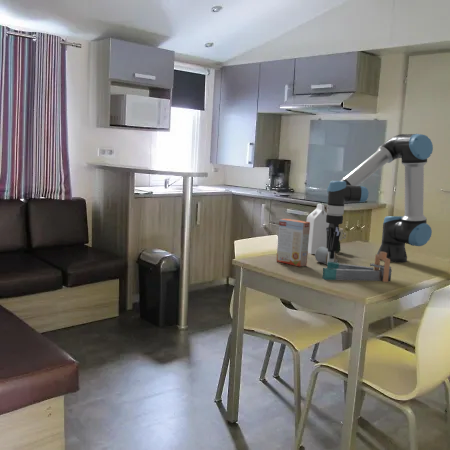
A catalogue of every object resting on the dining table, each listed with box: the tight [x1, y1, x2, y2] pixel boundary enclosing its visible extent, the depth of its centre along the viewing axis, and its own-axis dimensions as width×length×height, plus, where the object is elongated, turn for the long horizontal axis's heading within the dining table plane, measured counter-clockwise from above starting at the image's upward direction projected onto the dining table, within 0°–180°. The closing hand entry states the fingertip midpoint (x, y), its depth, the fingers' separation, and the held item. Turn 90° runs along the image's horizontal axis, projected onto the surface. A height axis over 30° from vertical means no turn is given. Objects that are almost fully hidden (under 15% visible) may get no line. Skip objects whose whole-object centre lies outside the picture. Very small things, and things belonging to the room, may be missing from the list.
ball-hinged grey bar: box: [322, 267, 393, 283], centre depth 222 cm, size 30×5×5 cm, turn 98°
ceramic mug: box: [314, 247, 339, 265], centre depth 252 cm, size 11×8×8 cm
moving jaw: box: [326, 262, 392, 270], centre depth 228 cm, size 27×7×6 cm, turn 73°
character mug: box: [335, 227, 347, 253], centre depth 283 cm, size 11×7×13 cm, turn 62°
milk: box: [305, 203, 329, 255], centre depth 277 cm, size 12×12×26 cm
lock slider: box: [373, 252, 391, 283], centre depth 224 cm, size 2×10×12 cm, turn 8°
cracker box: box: [276, 218, 310, 268], centre depth 245 cm, size 14×6×21 cm, turn 47°
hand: (330, 265), depth 240 cm, fingers closed
